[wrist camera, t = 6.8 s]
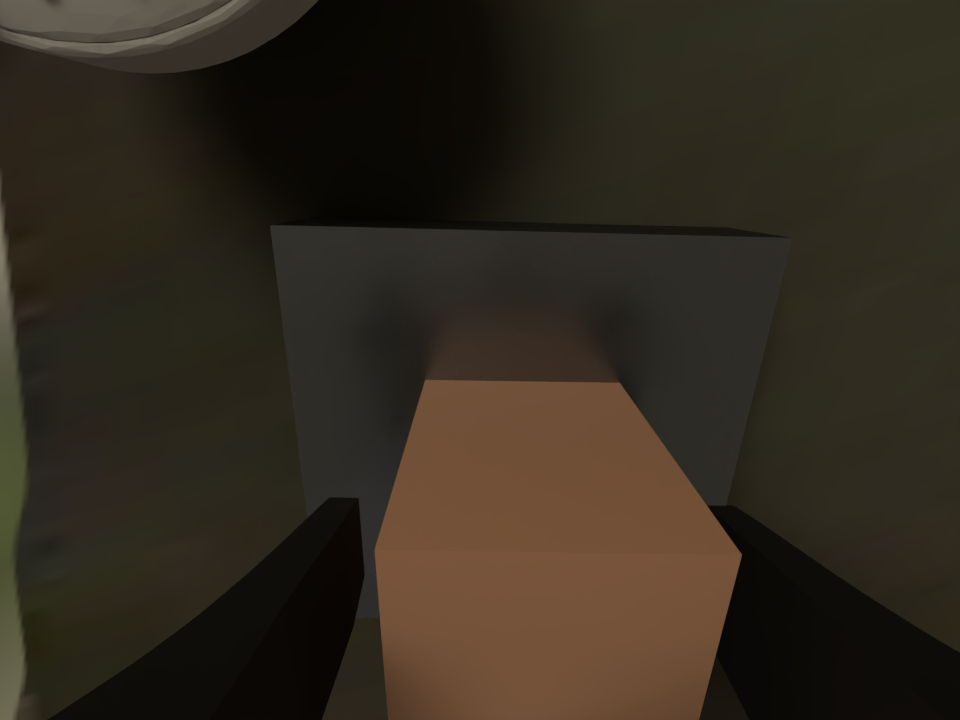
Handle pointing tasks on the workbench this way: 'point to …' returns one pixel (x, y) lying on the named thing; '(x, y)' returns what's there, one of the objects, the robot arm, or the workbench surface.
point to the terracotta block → (546, 561)
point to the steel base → (515, 335)
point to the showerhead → (147, 30)
